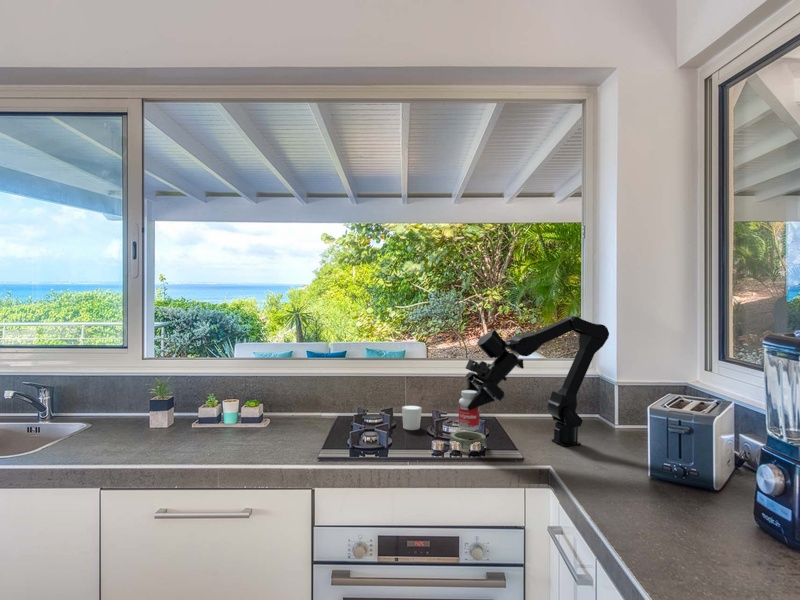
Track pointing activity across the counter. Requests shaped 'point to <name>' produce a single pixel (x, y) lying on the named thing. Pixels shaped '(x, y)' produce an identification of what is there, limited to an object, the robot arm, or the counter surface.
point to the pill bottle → (468, 412)
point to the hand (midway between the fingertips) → (464, 406)
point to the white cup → (411, 417)
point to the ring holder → (467, 439)
